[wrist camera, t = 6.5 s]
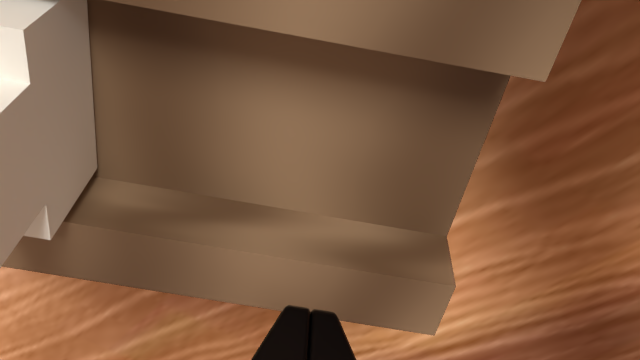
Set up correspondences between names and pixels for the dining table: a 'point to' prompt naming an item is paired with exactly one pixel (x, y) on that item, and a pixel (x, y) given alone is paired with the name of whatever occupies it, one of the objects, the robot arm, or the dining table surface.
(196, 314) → the dining table surface
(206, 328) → the dining table surface
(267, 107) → the launcher deck
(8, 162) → the white offset block
